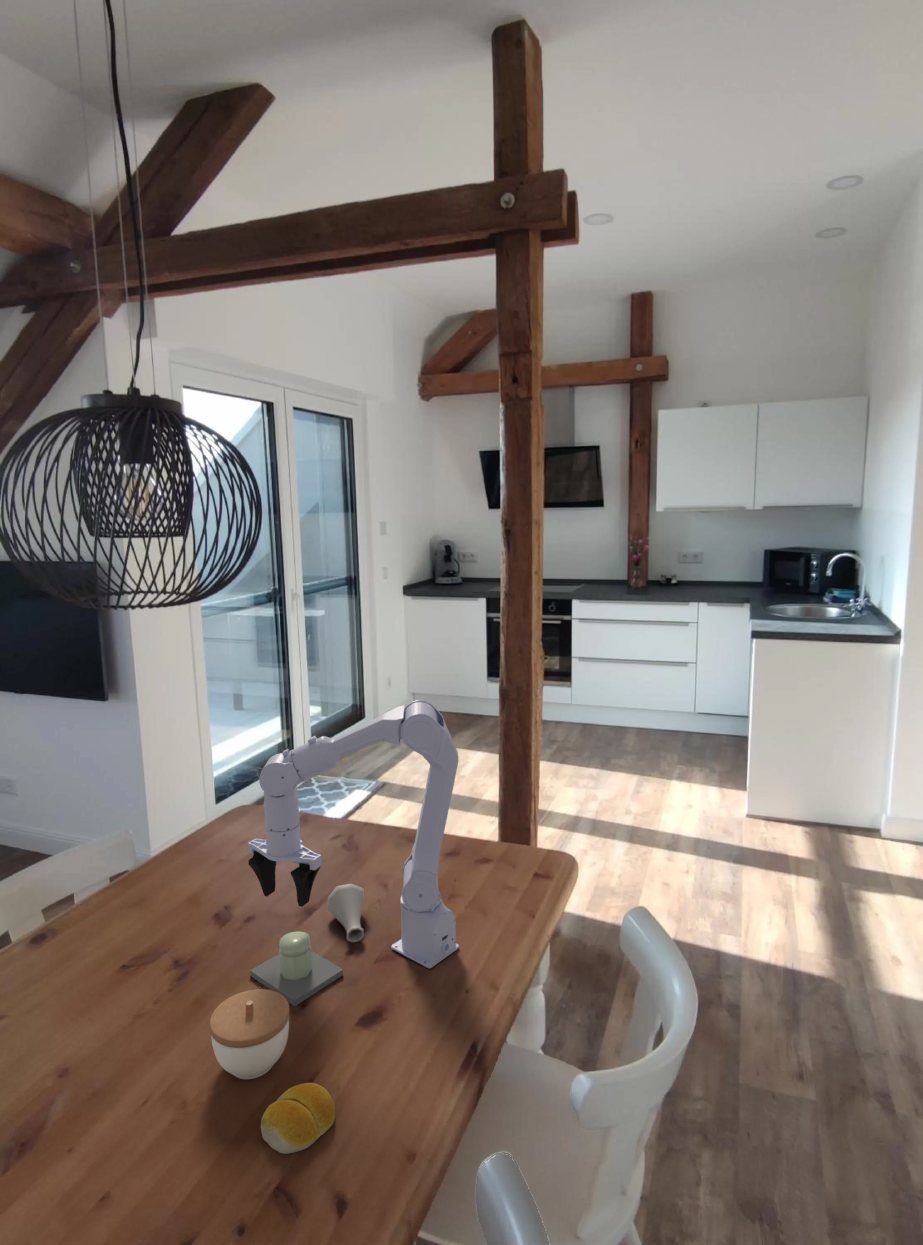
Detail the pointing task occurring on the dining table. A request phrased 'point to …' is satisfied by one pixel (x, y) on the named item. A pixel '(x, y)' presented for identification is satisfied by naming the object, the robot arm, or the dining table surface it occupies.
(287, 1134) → the bread roll
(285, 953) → the cap
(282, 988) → the mat
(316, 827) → the dining table surface
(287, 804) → the robot arm
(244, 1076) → the lidded jar
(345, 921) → the flask
